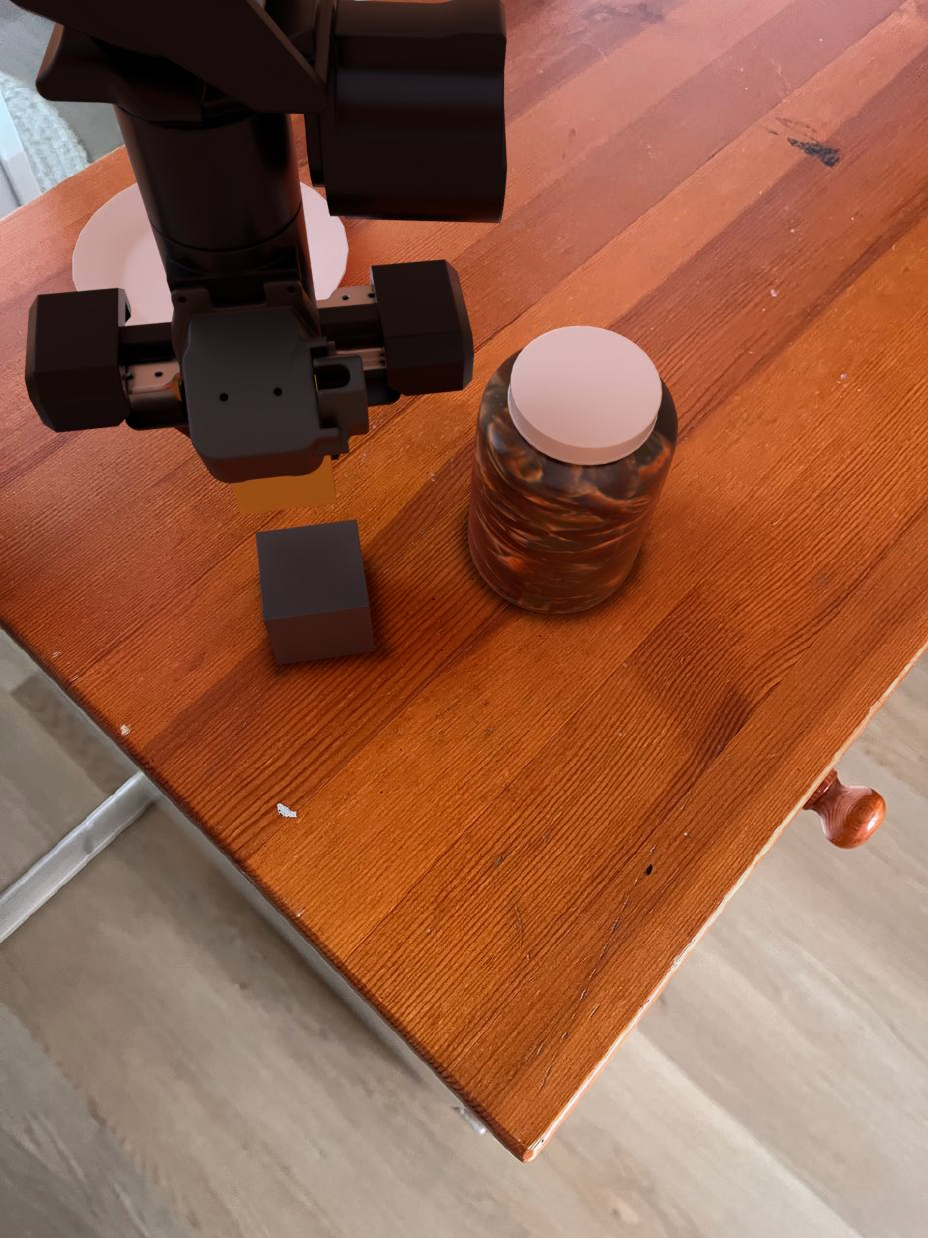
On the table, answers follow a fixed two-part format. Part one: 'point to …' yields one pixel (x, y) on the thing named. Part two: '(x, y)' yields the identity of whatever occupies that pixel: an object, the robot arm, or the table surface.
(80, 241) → the plate
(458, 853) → the table surface
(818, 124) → the table surface
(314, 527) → the base block
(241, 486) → the top block
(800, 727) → the table surface
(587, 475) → the jar
